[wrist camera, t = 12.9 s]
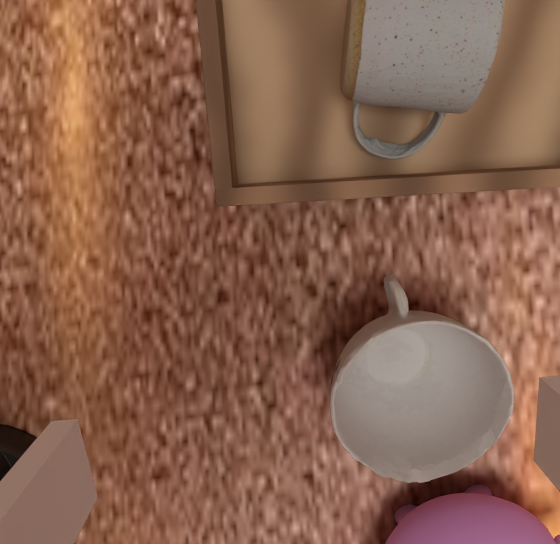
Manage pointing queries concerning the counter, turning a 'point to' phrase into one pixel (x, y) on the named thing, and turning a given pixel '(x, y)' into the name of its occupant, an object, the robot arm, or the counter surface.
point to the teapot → (468, 521)
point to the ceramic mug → (417, 59)
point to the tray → (367, 110)
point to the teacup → (418, 393)
